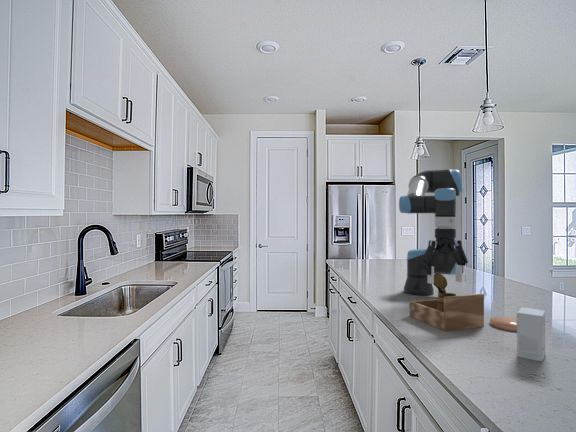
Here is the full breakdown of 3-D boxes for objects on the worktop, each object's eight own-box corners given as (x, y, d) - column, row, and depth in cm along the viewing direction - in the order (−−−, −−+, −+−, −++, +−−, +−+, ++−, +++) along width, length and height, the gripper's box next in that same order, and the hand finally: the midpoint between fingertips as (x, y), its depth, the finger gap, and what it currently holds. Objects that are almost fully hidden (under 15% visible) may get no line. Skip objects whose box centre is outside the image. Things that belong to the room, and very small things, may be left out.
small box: (520, 348, 112) (520, 306, 112) (545, 353, 108) (545, 310, 108) (516, 356, 106) (516, 312, 106) (542, 362, 102) (542, 316, 102)
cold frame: (409, 316, 149) (409, 286, 149) (443, 312, 154) (444, 284, 154) (446, 331, 129) (446, 297, 129) (483, 326, 135) (483, 294, 135)
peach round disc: (481, 322, 140) (481, 318, 140) (508, 319, 144) (508, 315, 144) (514, 333, 127) (514, 329, 127) (543, 329, 131) (543, 325, 131)
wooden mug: (447, 316, 149) (447, 272, 149) (465, 326, 135) (465, 278, 135) (426, 316, 148) (426, 272, 148) (442, 326, 135) (442, 278, 135)
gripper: (425, 228, 134) (425, 285, 134) (477, 228, 142) (477, 282, 142) (412, 227, 141) (412, 282, 141) (462, 227, 149) (462, 279, 149)
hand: (445, 282), depth 141 cm, fingers open, 13 cm apart
